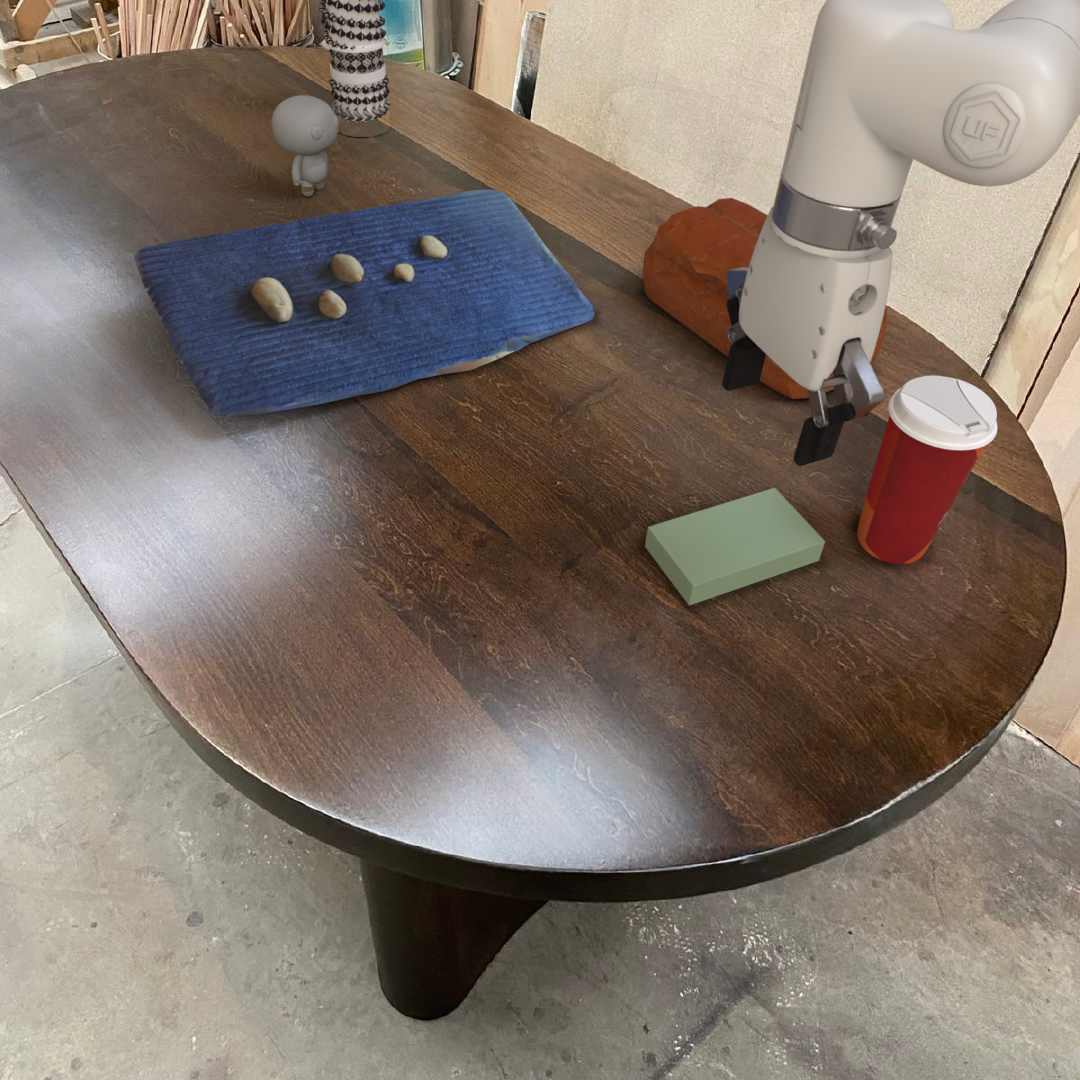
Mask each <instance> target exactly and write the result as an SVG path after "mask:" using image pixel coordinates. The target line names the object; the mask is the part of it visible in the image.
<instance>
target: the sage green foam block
mask: <svg viewBox="0 0 1080 1080" xmlns="http://www.w3.org/2000/svg"><path fill="white" fill-rule="evenodd" d="M825 545H826V541H825V539H824V538H823V537H822V536H821V535H820V534H819V533H818V532H817V530H815V528H813V526H812V525H811V524H810V523H809V522H808V520H806V519H805V518H804V517H803V516H802V514H801V513H800V512H798V511H797V509H796V508H795V507H794V506H793V505H792V504H791V503H790V502H789V500H787V499H786V498H785V496H784V495H783V494H781V493H780V491H779V490H778V489H777V488H776V487H773V488H769V489H766V490H762V491H759V492H756V493H753V494H749V495H747V496H743V497H739V498H737V499H734V500H730V501H726V502H724V503H720V504H717V505H713V506H710V507H707V508H704V509H701V510H698V511H694V512H691V513H687V514H685V515H681V516H678V517H675V518H672V519H669V520H666V521H662V522H659V523H656V524H652V525H649V526H647V531H646V536H645V542H644V547H645V549H646V550H647V552H648V553H649V554H650V555H651V557H652V558H653V560H654V562H656V563H657V565H658V566H659V568H660V569H661V570H662V572H663V573H664V575H665V576H666V577H667V578H668V580H669V581H670V582H671V584H672V585H673V586H674V588H675V589H676V590H677V592H678V593H679V594H680V596H681V597H682V598H683V600H684V601H685V602H686V603H687V605H688V606H691V605H692V606H693V605H695V604H698V603H701V602H704V601H707V600H709V599H712V598H717V597H718V596H721V595H725V594H727V593H730V592H733V591H736V590H739V589H741V588H744V587H747V586H750V585H753V584H757V583H759V582H762V581H764V580H765V581H766V580H767V579H771V578H774V577H776V576H779V575H782V574H784V573H788V572H791V571H794V570H796V569H800V568H802V567H805V566H808V565H810V564H814V563H817V562H819V561H820V558H821V556H822V552H823V549H824V547H825Z"/></svg>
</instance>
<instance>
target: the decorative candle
mask: <svg viewBox="0 0 1080 1080" xmlns="http://www.w3.org/2000/svg"><path fill="white" fill-rule="evenodd" d="M385 8H386V4H385V2H384V1H382V0H320V2H319V7H318V10H319V12H320V13H321V18H320V23H321V24H322V27H323V28H324V32H323V39H324V43H325V46H326V47H327V48H328V49H329V57H330V64H329V70H330V78H329V80H328V83H329V85H330V87H331V90H330V91H329V92H330V95H331V97H332V99H333V100H332V101H331V108H332V110H333V111H334V112H336V113H337V114H336V116H340V119H347V122H349V121H355V122H356V123H358V122H361V121H364V122H368V121H370V120H375V119H377V118H381V117H382V116H383V115H386V113H387V111H388V110H390V107H391V105H392V103H391V101H390V98H389V97H388V96H389V94H390V93H391V92H390V91H391V90H390V89H389V87H388V84H389V82H390V79H389V77H388V75H387V70H386V63H385V62H384V50H383V48H384V47H385V45H386V43H387V41H386V38H385V37H386V35H387V31H386V30H384V29H383V26H384V25H385V24H386V19H385V18H384V17H383V16H382V15H380V12H381V11H383V10H384V9H385Z"/></svg>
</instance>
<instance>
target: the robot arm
mask: <svg viewBox="0 0 1080 1080" xmlns="http://www.w3.org/2000/svg"><path fill="white" fill-rule="evenodd" d="M954 26H955V25H954V18H953V15H952V13H951V10H950V9H949V8H948V7H947V5H946V4H945V3H944V2H942V1H941V0H825V2H824V3H823V5H822V6H821V8H820V10H819V12H818V14H817V18H816V21H815V24H814V29H813V32H812V36H811V40H810V45H809V50H808V53H807V57H806V62H805V66H804V71H803V76H802V80H801V84H800V89H799V93H798V97H797V100H796V101H797V102H796V106H795V110H794V115H793V119H792V122H791V123H792V124H791V128H790V133H789V138H788V142H787V145H786V150H785V156H784V160H783V163H782V168H781V172H780V176H779V180H778V185H777V189H776V193H775V198H774V201H773V205H772V206H771V208H770V209H769V211H768V214H767V215H768V216H767V218H766V220H765V222H764V225H763V227H762V230H761V232H760V235H759V238H758V240H757V243H756V246H755V249H754V252H753V255H752V258H751V261H750V265H749V267H741V268H736V269H732V270H728V272H727V284H728V296H730V299H729V300H728V301H727V310H728V313H729V317H730V321H731V325H732V326H731V327H730V328H729V329H728V338H729V340H730V342H732V343H733V345H731V346H730V350H729V355H728V357H727V360H726V363H725V369H724V374H723V378H722V382H721V386H722V387H723V389H725V390H726V391H728V392H729V391H735V390H739V389H742V388H743V389H744V388H746V387H750V386H755V385H757V384H759V382H761V381H760V377H761V373H762V369H763V365H764V361H765V357H766V354H767V355H768V356H769V357H770V358H771V359H772V360H773V361H774V362H775V363H776V364H777V365H778V366H779V367H780V368H781V369H782V370H783V371H785V372H786V373H787V374H788V375H789V376H790V377H791V378H792V379H793V380H795V381H796V382H797V383H798V384H799V385H801V386H802V387H804V388H806V389H807V391H808V396H809V398H808V401H809V405H810V406H809V407H810V411H811V416H810V417H808V418H806V419H805V420H804V421H803V424H802V429H801V432H800V434H799V438H798V441H797V444H796V448H795V450H794V455H793V461H794V463H795V464H796V465H797V466H798V467H802V466H803V467H804V466H805V465H809V464H813V463H816V462H819V461H824V460H827V459H829V458H831V457H832V456H833V454H834V453H835V451H836V448H837V444H838V441H839V438H840V435H841V433H842V430H843V427H844V424H845V423H847V422H850V421H853V420H858V419H860V418H865V417H867V416H869V414H870V412H872V411H873V410H874V409H875V408H877V407H878V406H879V405H880V404H882V403H883V402H884V400H885V398H886V394H885V391H884V388H883V386H882V384H881V382H880V381H879V379H878V376H877V374H876V372H875V370H874V367H873V365H872V366H871V364H870V362H871V359H872V356H873V352H874V349H875V346H876V342H877V338H878V335H879V331H880V327H881V323H882V319H883V315H884V311H885V306H886V307H887V300H888V295H889V291H890V290H889V289H890V284H891V275H892V265H893V250H892V248H890V247H891V246H892V245H893V244H894V243H895V241H896V239H897V235H898V233H897V230H896V229H895V228H894V227H892V225H893V222H894V219H895V216H896V213H897V210H898V207H899V204H900V201H901V198H902V195H903V191H904V189H905V185H906V183H907V179H908V176H909V173H910V170H911V167H912V164H913V161H916V162H918V163H920V164H922V165H924V166H926V167H928V168H930V169H932V170H933V171H936V172H937V173H939V174H942V175H944V176H946V177H947V178H950V179H953V180H955V181H958V182H961V183H964V184H967V185H973V186H977V187H1000V186H1006V185H1011V184H1014V183H1016V182H1017V183H1018V182H1019V181H1021V180H1023V179H1026V178H1027V177H1029V176H1031V175H1033V174H1034V173H1036V172H1037V171H1038V170H1040V169H1042V168H1043V166H1045V164H1046V163H1048V161H1050V160H1051V159H1052V158H1053V156H1054V155H1055V154H1056V153H1057V151H1058V150H1059V149H1060V147H1061V146H1062V145H1063V143H1064V141H1065V139H1066V137H1067V136H1068V135H1069V133H1070V132H1071V130H1072V128H1073V126H1074V125H1075V123H1076V122H1077V120H1078V118H1079V116H1080V0H1012V1H1010V2H1009V3H1007V4H1006V5H1004V6H1003V7H1001V8H1000V9H999V10H997V11H996V12H995V13H994V14H992V15H990V17H989V18H988V19H987V20H985V22H983V23H982V24H981V25H980V26H979V27H976V28H973V29H972V28H971V29H967V30H965V29H964V30H961V29H957V28H956V29H955V28H954ZM832 372H833V377H829V376H830V374H831V373H832ZM828 377H829V378H828ZM832 386H834V389H833V390H834V396H835V402H836V404H837V405H833V406H830V407H829V405H828V400H827V395H826V393H825V389H824V388H828V387H832Z"/></svg>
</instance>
